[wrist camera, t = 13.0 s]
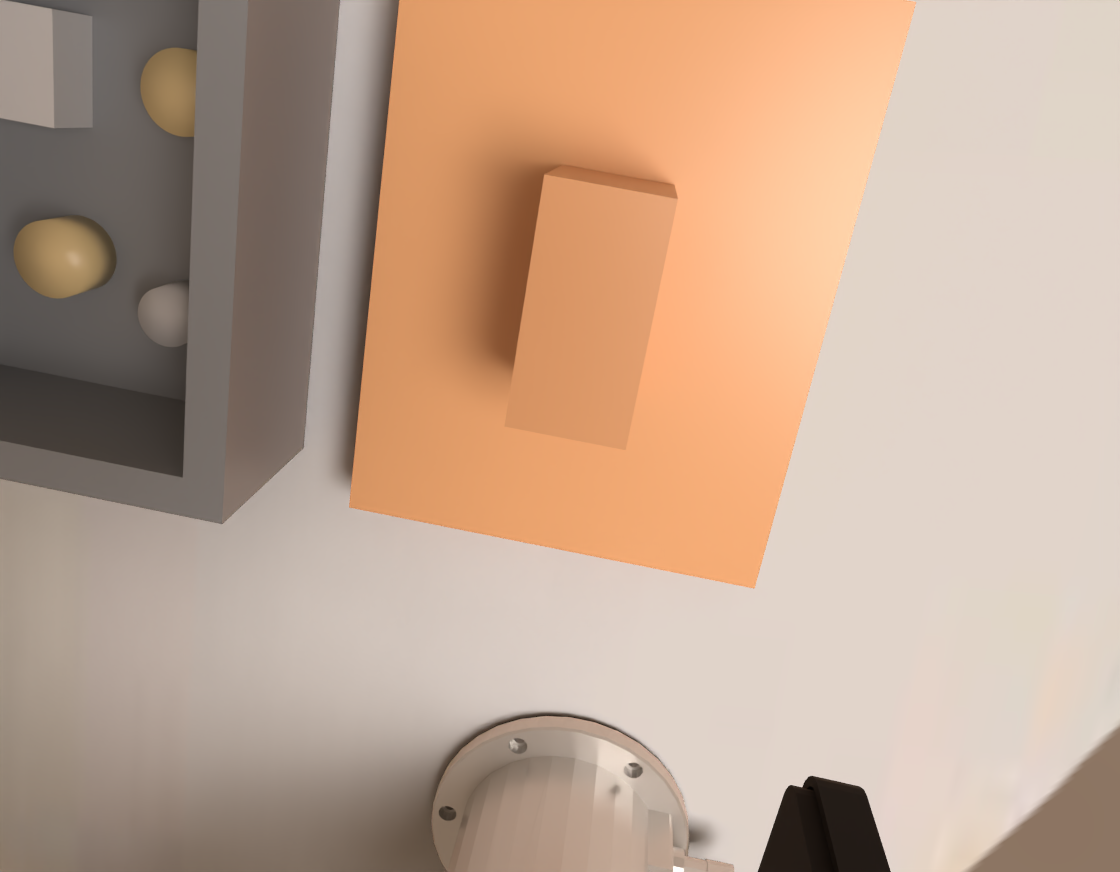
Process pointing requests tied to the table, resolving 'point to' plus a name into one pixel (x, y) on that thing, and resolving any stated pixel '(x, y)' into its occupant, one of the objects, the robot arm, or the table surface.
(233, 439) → the tub
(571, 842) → the robot arm
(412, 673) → the table surface
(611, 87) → the lid
